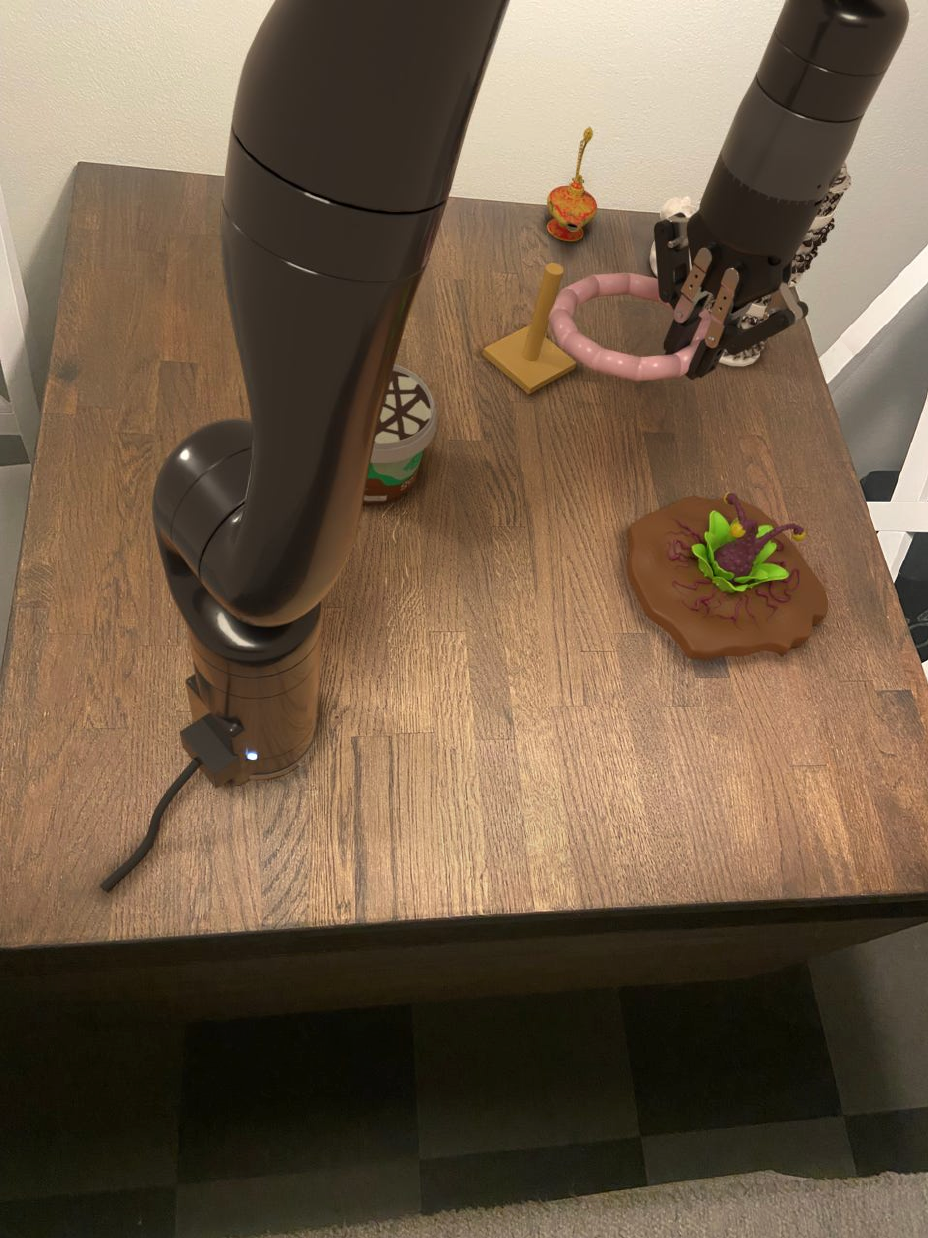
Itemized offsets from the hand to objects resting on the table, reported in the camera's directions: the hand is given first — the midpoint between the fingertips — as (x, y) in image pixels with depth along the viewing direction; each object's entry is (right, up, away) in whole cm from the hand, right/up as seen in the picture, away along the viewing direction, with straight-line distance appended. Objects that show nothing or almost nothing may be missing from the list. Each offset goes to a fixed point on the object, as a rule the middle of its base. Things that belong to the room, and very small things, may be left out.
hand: (685, 365), depth 74 cm
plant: (+8, -17, +22) cm, 29 cm away
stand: (-10, +10, +36) cm, 38 cm away
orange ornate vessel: (-4, +31, +51) cm, 60 cm away
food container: (-25, -6, +22) cm, 34 cm away
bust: (+10, +26, +50) cm, 57 cm away
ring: (-4, +4, +2) cm, 6 cm away
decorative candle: (+16, +15, +44) cm, 49 cm away
